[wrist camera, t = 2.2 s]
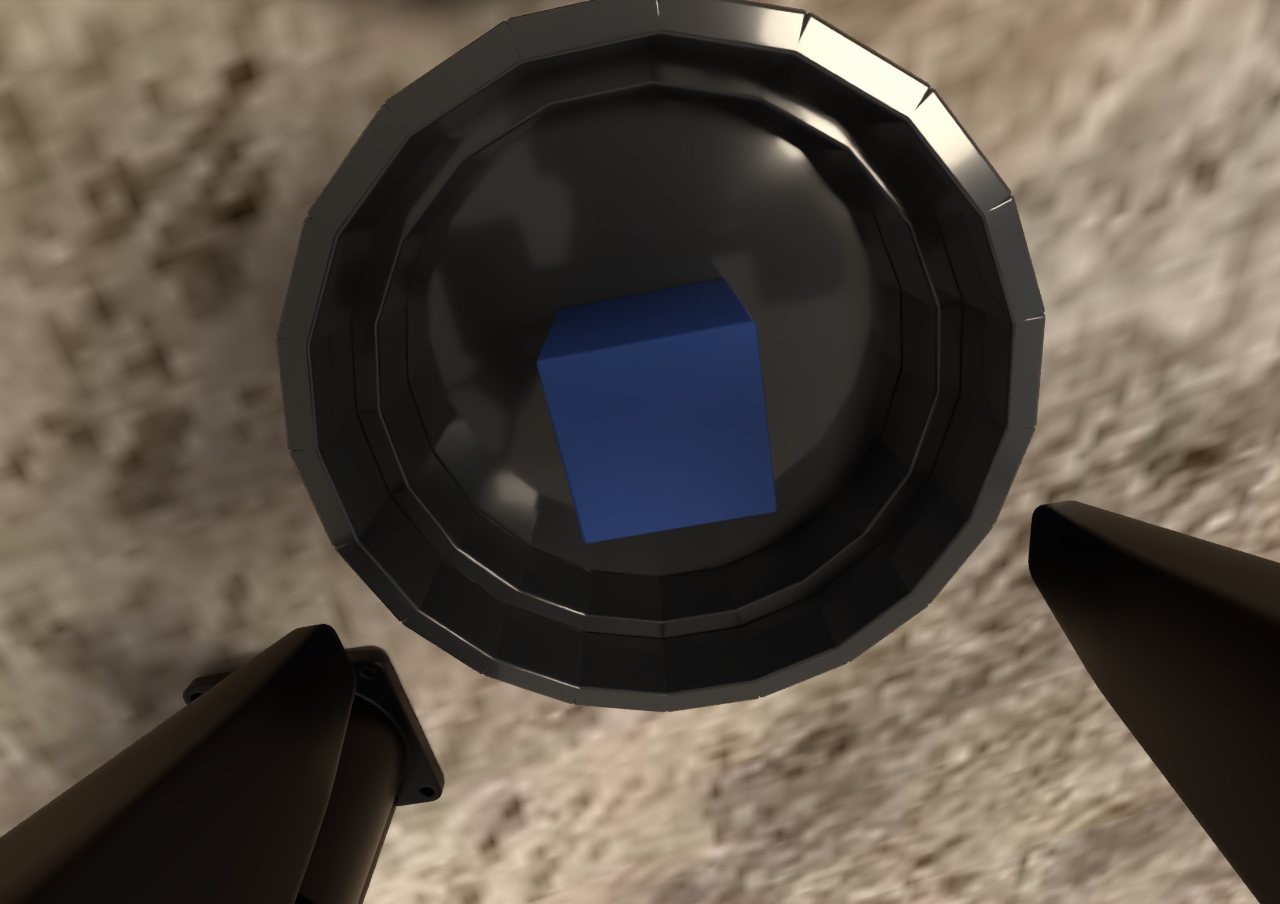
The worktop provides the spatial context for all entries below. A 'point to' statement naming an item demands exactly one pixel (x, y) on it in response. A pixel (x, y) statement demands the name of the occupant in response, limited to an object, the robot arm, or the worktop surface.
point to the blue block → (659, 410)
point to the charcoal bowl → (645, 262)
